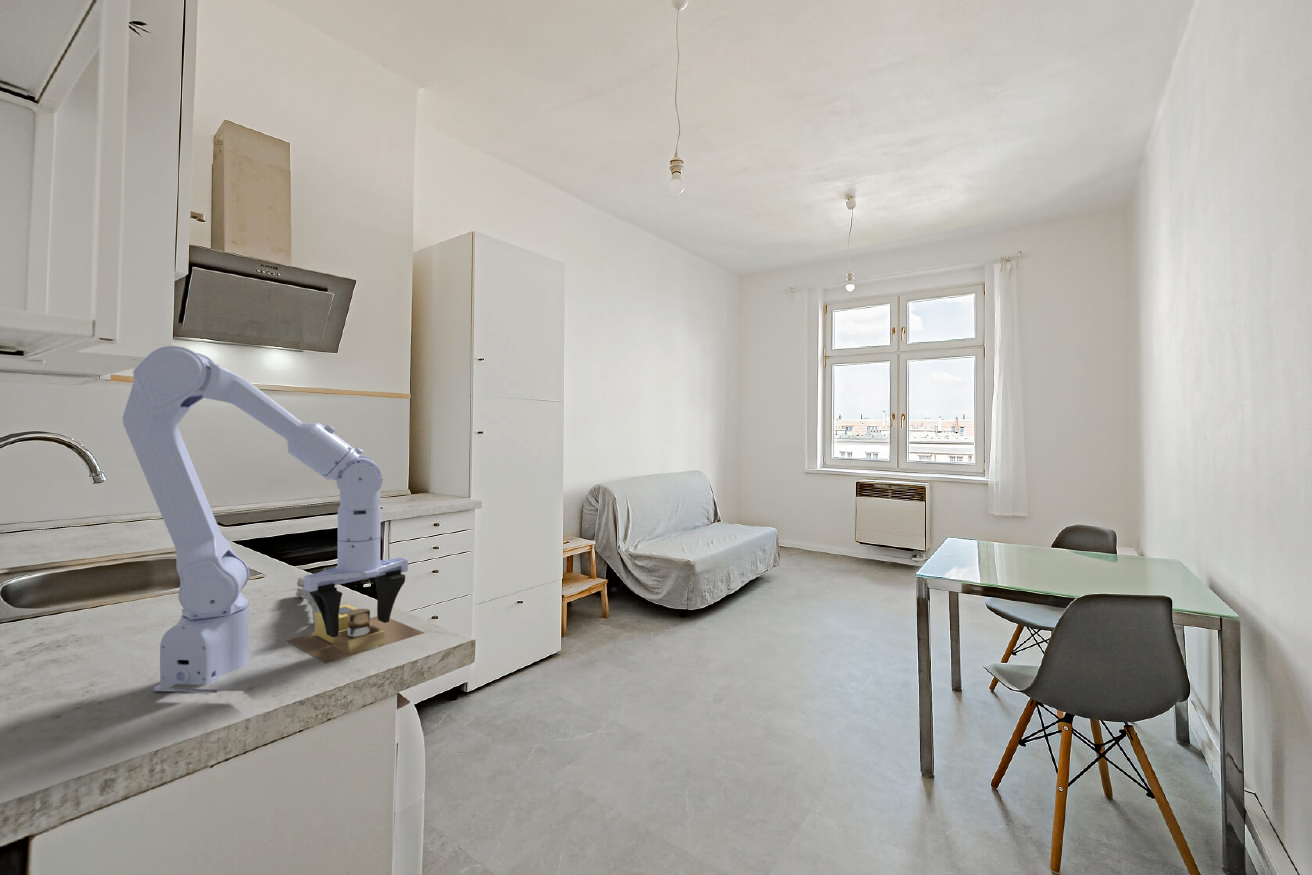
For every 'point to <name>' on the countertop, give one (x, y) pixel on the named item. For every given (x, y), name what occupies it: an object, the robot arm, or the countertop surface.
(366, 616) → the silver and brown cylinder
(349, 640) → the board
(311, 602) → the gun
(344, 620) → the block
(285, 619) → the countertop surface
